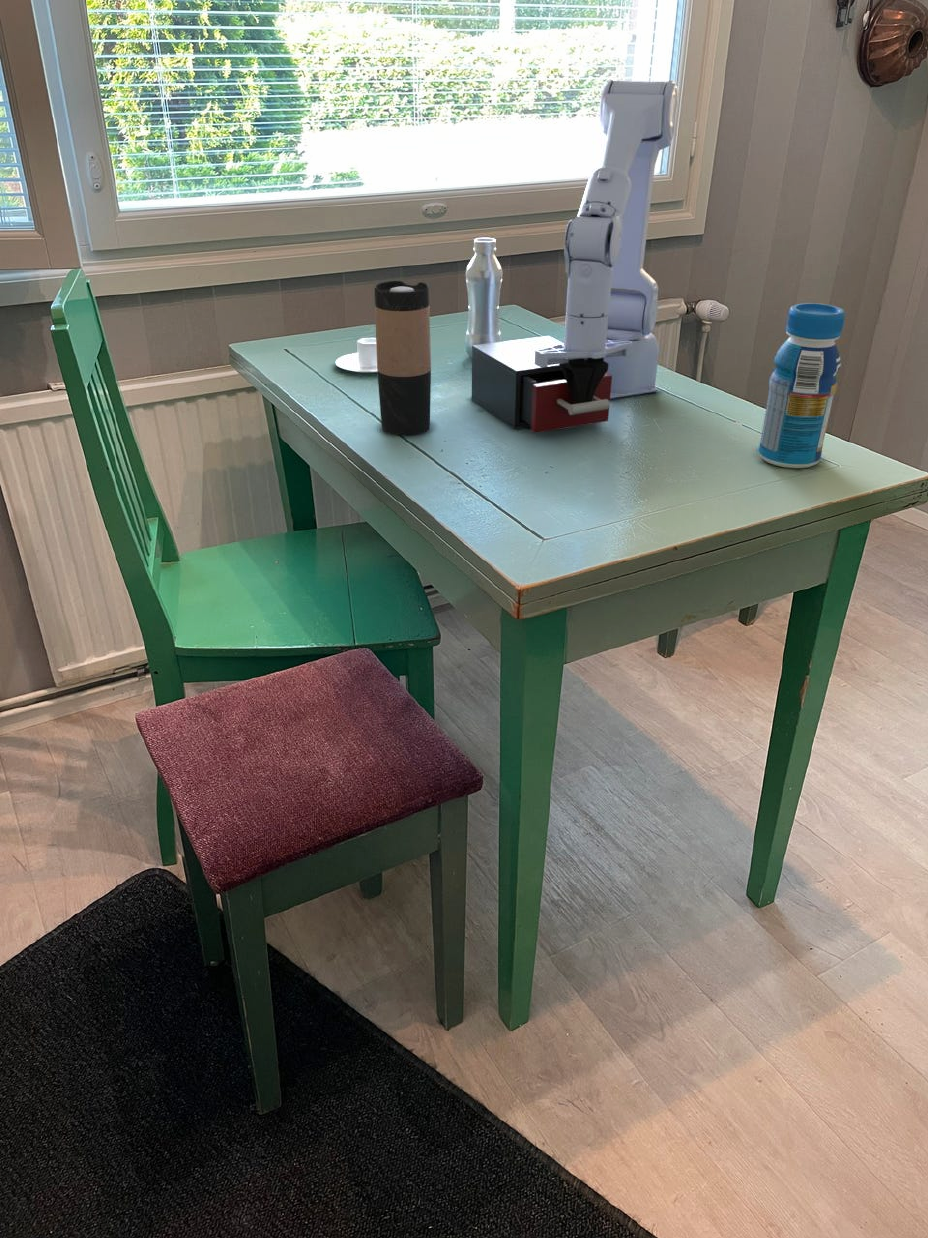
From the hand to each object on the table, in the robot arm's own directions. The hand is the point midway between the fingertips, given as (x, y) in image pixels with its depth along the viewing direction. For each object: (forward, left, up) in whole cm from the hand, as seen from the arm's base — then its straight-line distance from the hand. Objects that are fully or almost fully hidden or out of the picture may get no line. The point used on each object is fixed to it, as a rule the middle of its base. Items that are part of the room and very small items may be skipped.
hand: (579, 411), depth 133 cm
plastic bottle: (-5, -41, -4) cm, 42 cm away
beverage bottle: (-22, +19, -4) cm, 29 cm away
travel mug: (+21, -14, -4) cm, 26 cm away
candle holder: (+15, -45, -4) cm, 48 cm away
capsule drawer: (0, -6, -3) cm, 7 cm away
